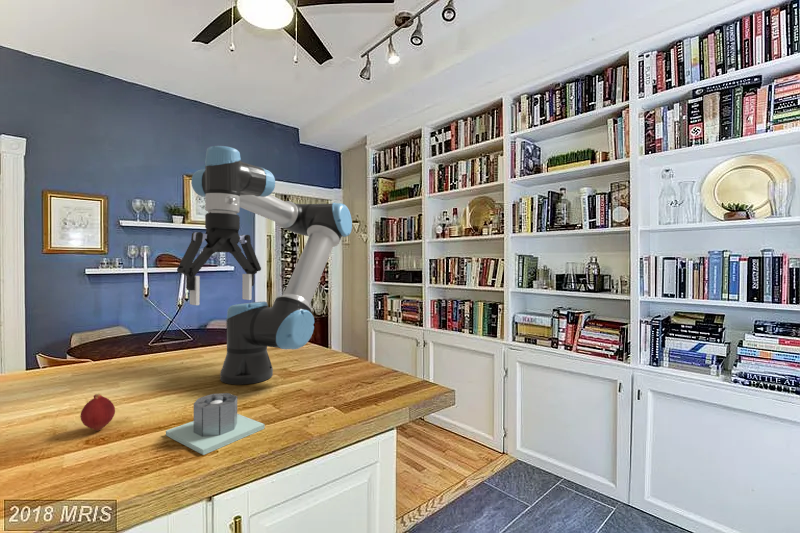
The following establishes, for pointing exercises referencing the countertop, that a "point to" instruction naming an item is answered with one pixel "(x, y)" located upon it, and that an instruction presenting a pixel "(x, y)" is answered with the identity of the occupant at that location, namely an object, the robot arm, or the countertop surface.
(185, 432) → the post block
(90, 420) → the onion
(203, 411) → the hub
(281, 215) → the robot arm
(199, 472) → the countertop surface
